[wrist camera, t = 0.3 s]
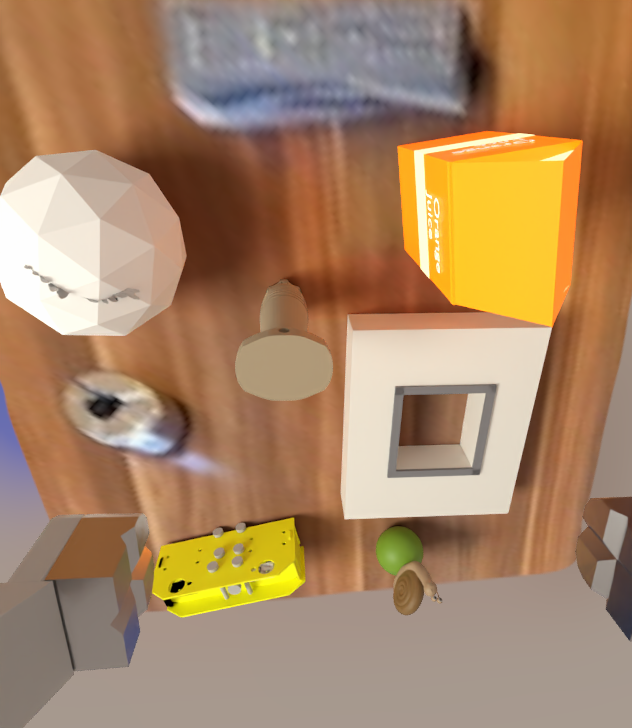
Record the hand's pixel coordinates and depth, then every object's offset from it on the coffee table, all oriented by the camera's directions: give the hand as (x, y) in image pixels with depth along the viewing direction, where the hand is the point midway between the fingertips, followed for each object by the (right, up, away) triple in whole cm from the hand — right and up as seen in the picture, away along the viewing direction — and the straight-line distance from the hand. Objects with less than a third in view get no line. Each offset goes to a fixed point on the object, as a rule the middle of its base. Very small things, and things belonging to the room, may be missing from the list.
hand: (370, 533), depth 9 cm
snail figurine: (+9, -17, +51) cm, 55 cm away
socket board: (+11, -2, +44) cm, 45 cm away
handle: (-4, +10, +37) cm, 39 cm away
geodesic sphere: (-18, +15, +34) cm, 41 cm away
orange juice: (+10, +18, +34) cm, 40 cm away
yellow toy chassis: (-11, -18, +51) cm, 55 cm away
